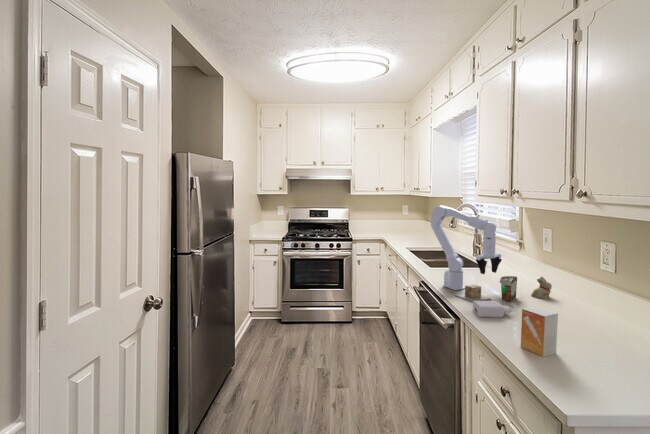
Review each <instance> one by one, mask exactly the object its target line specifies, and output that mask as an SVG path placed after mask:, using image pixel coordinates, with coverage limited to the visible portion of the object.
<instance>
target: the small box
mask: <svg viewBox="0 0 650 434" xmlns="http://www.w3.org/2000/svg"><path fill="white" fill-rule="evenodd" d="M558 316H559V314H558V312H554V311H551V310H548V309H544V308H541V307H538V306H536V305H535V306H530V307H525V308H522V310H521V331H520V348H523V349H525V350H527V351H529V352H532V353H534V354H536V355H539V356H541V357H542V358H544V357H548V356H552V355H555V354H557V346H558V345H557V342H558V321H559V320H558V318H559V317H558Z"/></svg>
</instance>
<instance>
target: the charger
mask: <svg viewBox="0 0 650 434" xmlns="http://www.w3.org/2000/svg"><path fill="white" fill-rule="evenodd" d="M472 310H473V312H474V313H475V314H476V315H477V316H478V318H499V319H501V318H503V317H504V316H505V314H510V313H512V311H515V310H516V309H514V307H511V306H510V307H509V306H508V305H502V304H500V303H499V302H498V301H495V300H485V301H473V302H472Z"/></svg>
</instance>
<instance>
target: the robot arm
mask: <svg viewBox="0 0 650 434" xmlns="http://www.w3.org/2000/svg"><path fill="white" fill-rule="evenodd" d="M430 215H431V217H430V227H431V228H432V231H433V233H434V235H435V236H436V238H437V241H438V242H439V245H440V246H441V248H442V251H443V252H444V254H445V257H446V261H447V265H448V269H446V270H445V271H444V275H443V285H442V287H445V288H447V289H450V290H454V291H457V290H465V286H464V269H463V267H464V260H463V259H462V258H461V257H460V256H459V254H458V253H457V252H456V251H455V249H454V247H453V245H452V242H451V241H450V239H449V237H448V235H447V233H446V232H445V229H444V228H443V225H442V223H443V221H444V219H445V218H447V217H453V218H456V219H458V220H461V221H463V222H466V223H467V224H468V226H469V227H471V228H474V229H476V230H479V231H482V232H483V237H482V254H479V255H476V256H475V257H476V259H475V261H476V263H477V265H478V268H479V272H480V274H481V275H485V274H486V267H487V264H488V261H487V260H490V264H491V272H492V273H495V274H496V273H497V270H498V268H499V265H500V264H501V262H502V260H503V259H502V254H501V253H496V242H497V241H496V240H497V239H496V230H497V225H496V224H495V223H494V222H493V221H489V219H484V218H482V217H479V215H477V214H476V215H473V214H472V215H471V216H470V215H468V214H465V213H463V212H461V211H459V210H457V209H454V208H453V207H448V206H446V205H438V206H435V207H434V208H433V209H432V211H431V213H430Z"/></svg>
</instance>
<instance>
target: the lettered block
mask: <svg viewBox="0 0 650 434" xmlns="http://www.w3.org/2000/svg"><path fill="white" fill-rule="evenodd" d="M464 287H465V289H464V293H465V296H467V297H470V298H479V297H481V295H482V286H479V285H477V284H467V285H466V284H465V285H464Z"/></svg>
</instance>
